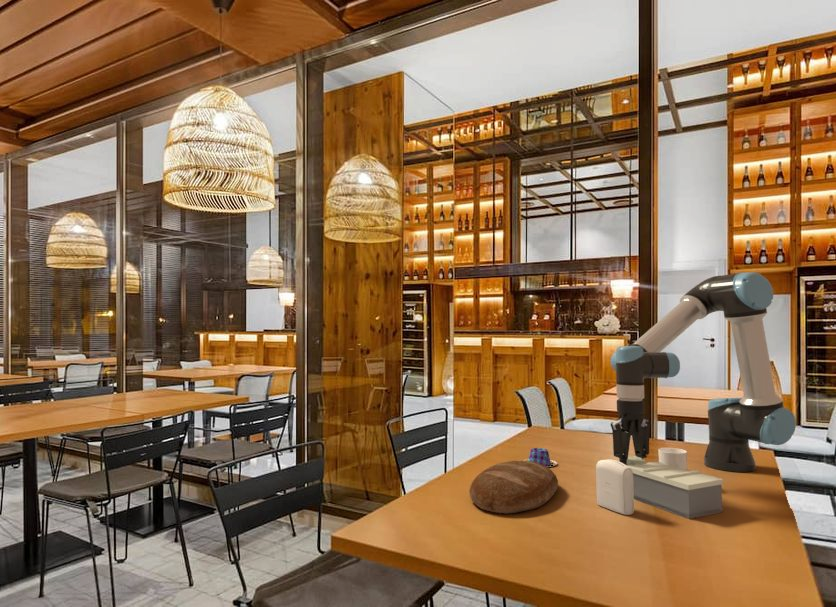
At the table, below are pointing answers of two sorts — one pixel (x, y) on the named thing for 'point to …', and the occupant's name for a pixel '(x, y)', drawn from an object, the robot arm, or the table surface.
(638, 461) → the lid
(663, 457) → the white cup
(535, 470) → the bread
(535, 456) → the patterned hat
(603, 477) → the photo printer
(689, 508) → the tub
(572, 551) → the table surface
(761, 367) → the robot arm
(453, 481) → the table surface
